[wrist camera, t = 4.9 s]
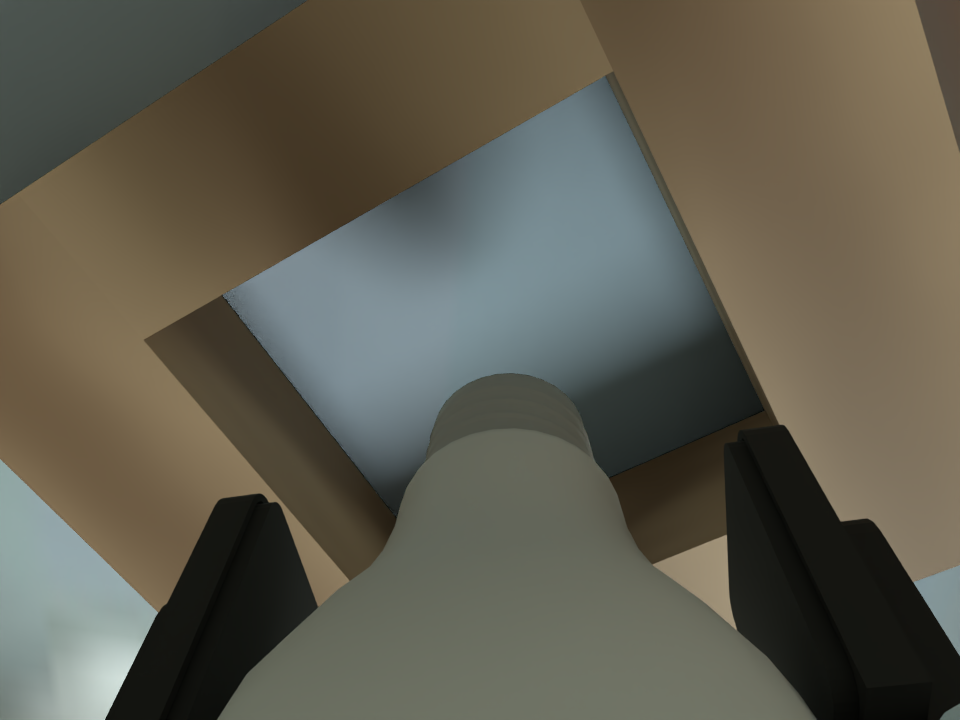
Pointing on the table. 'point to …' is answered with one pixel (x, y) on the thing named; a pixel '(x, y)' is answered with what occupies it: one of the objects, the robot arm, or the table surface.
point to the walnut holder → (431, 147)
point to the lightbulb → (513, 597)
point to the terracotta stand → (944, 51)
